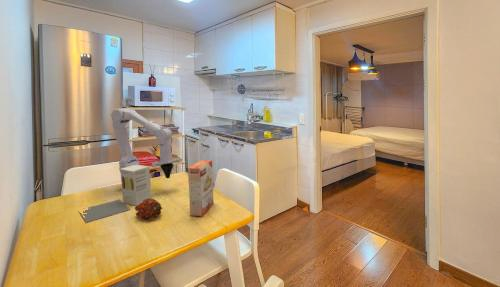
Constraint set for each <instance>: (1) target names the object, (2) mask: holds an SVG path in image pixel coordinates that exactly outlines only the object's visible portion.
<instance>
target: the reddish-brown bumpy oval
mask: <svg viewBox="0 0 500 287" xmlns="http://www.w3.org/2000/svg"><path fill="white" fill-rule="evenodd" d="M162 209H163V207H162V204H161V203H160V202H159V201H157V200H156V199H154V198H152V199H144V201H143V202H142V203H140V204H139V205H137V206H135V207H134V211H136V212H135V215H136V217H139V216H140V217H141V216H142V218H143V220H146V219H148V218H149V219H154V218H156V216H160V215H161V214H162V211H161V210H162Z"/></svg>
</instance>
